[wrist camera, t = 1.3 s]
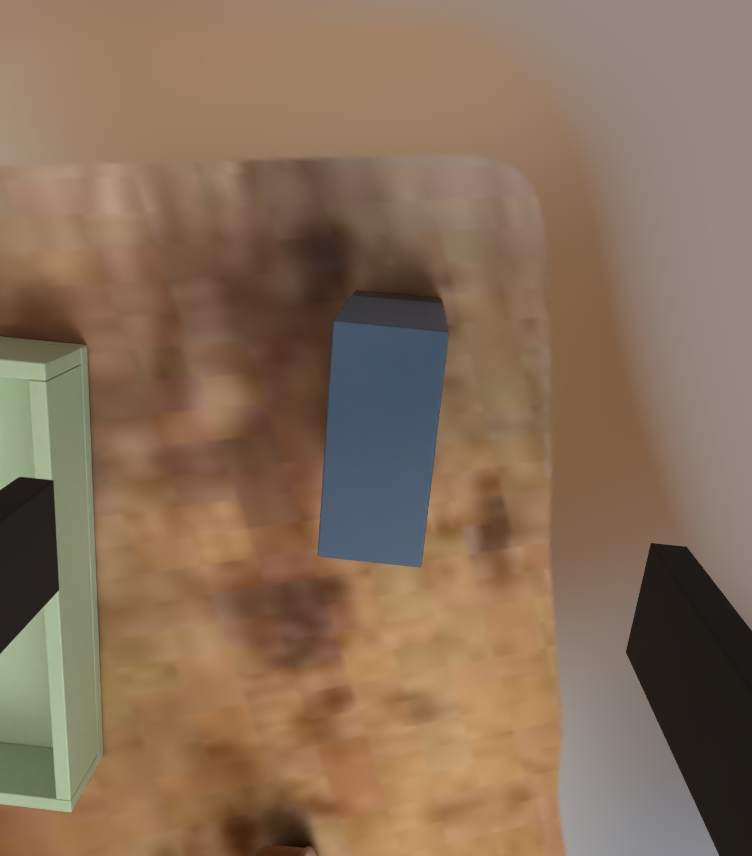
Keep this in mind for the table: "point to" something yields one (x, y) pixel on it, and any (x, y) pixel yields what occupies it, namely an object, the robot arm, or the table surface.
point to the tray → (77, 597)
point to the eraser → (382, 427)
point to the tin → (286, 851)
